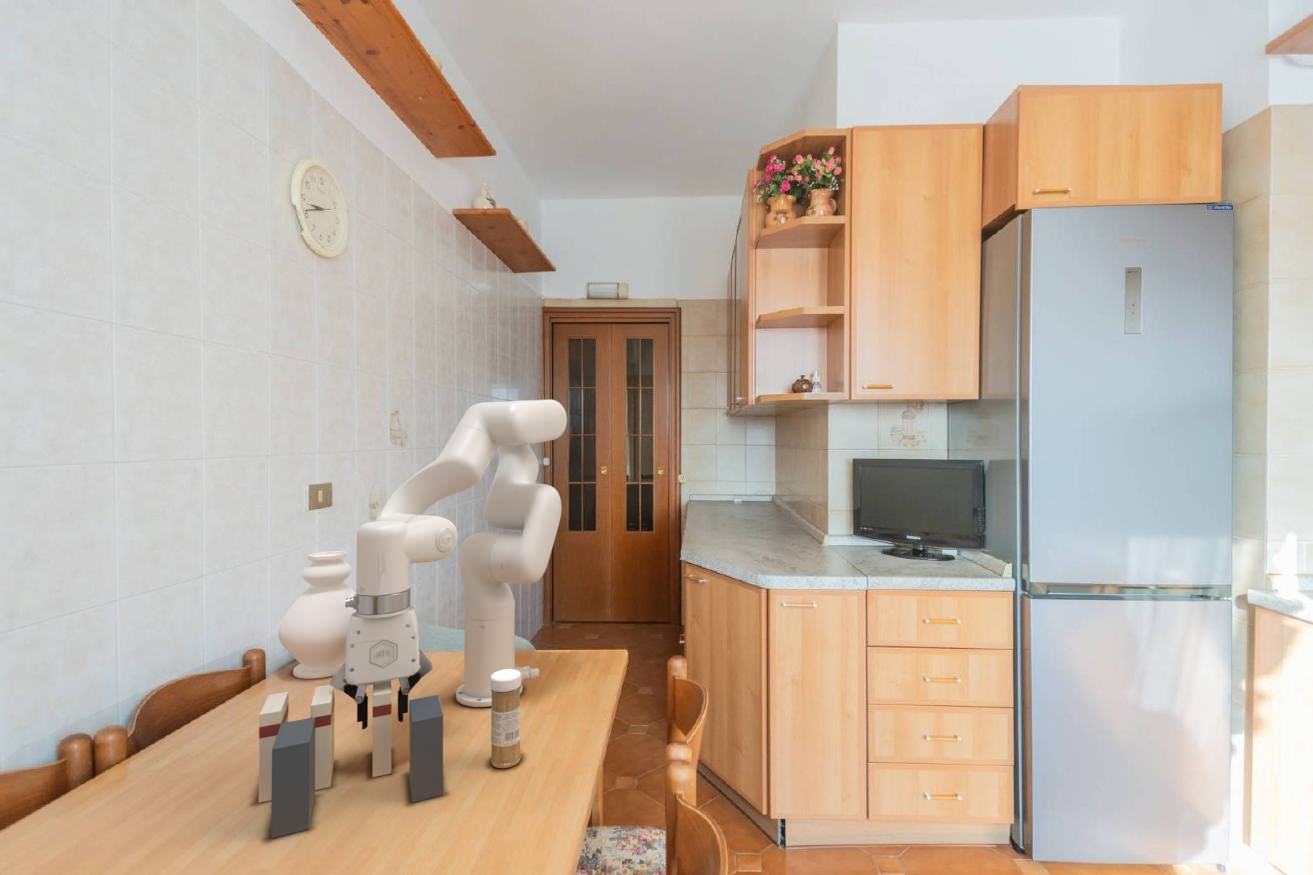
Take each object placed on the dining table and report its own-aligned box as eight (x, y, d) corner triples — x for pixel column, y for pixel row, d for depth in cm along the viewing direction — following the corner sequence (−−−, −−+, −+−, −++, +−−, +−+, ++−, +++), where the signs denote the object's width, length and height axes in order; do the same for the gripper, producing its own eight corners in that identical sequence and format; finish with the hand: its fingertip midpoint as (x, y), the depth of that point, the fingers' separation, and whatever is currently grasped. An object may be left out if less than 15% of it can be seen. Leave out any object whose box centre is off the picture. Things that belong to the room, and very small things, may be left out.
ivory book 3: (390, 750, 91) (390, 675, 91) (391, 773, 84) (391, 691, 85) (372, 754, 90) (373, 677, 90) (372, 777, 83) (372, 695, 83)
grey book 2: (438, 767, 86) (438, 694, 86) (443, 795, 79) (443, 715, 79) (409, 774, 84) (409, 699, 84) (411, 803, 77) (412, 721, 77)
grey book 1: (314, 796, 79) (315, 716, 79) (308, 829, 72) (309, 741, 72) (280, 804, 77) (281, 722, 77) (271, 838, 70) (271, 749, 70)
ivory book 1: (288, 772, 85) (288, 691, 85) (280, 798, 78) (281, 710, 79) (267, 776, 84) (268, 694, 84) (258, 803, 77) (259, 714, 78)
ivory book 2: (334, 762, 87) (334, 683, 88) (330, 786, 81) (331, 701, 81) (315, 766, 86) (315, 686, 86) (309, 791, 80) (310, 705, 80)
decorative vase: (290, 658, 131) (291, 549, 131) (375, 648, 137) (376, 544, 137) (267, 689, 114) (268, 564, 115) (366, 676, 120) (367, 557, 121)
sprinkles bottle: (517, 750, 90) (517, 665, 91) (523, 765, 86) (524, 676, 87) (487, 757, 88) (488, 670, 89) (493, 772, 84) (493, 681, 85)
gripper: (317, 615, 81) (316, 745, 80) (444, 601, 88) (443, 720, 88) (322, 602, 87) (321, 722, 87) (439, 590, 95) (439, 701, 94)
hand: (382, 720), depth 87 cm, fingers open, 4 cm apart
